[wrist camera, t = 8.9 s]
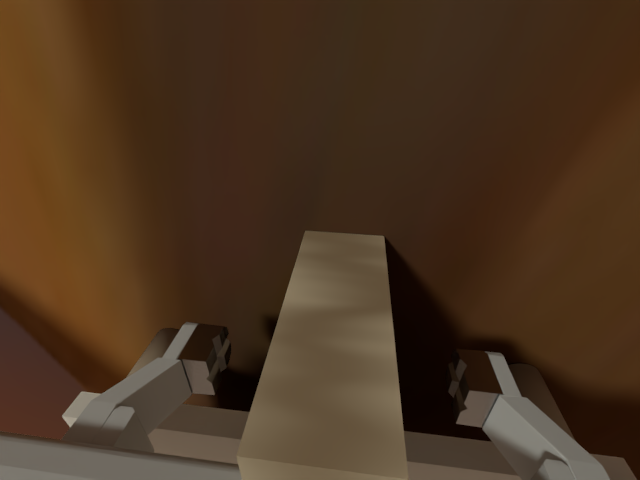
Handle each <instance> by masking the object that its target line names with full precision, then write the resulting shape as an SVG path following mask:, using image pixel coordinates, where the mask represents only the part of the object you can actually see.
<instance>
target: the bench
mask: <svg viewBox="0 0 640 480" xmlns="http://www.w3.org/2000/svg"><path fill="white" fill-rule="evenodd" d="M178 332H179V330H176V329H172V328H165V329H162V330H160V331H159V332H158V333H157V334H156V336H155V337H154V339H153V340H152V341H151V343H150V344H149V346H148V347H147V349H146V350H145V351H144V353H143V354H142V356H141V357H140V359H139V360H138V361H137V363H136V364H135V366H134V367H133V368H132V370H131V371H130V373H129V374H128V376H127V377H129V376H130V375H132V374H133V373H135V372H136V371H138V370H139V369H141V368H143V367H144V366H146V365H147V364H149V363H150V362H152V361H153V360H155V359H157V358H158V357H159V358H162V357H163V356H164V354H165V352H166V351H167V349H168V348H169V346H170V345H171V343H172V341H173V340H174V338H175V337H176V335H177V334H178ZM508 367H509V369H510V371H511V374H512V376H513V378H514V380H515V383H516V385H517V387H518V389H519V391H520V394H521V396H522V397H525V398H528V399H529V400H530V401H531V402H532V403H533V404H534V405H536V406H537V407H538V408H539V409H540V410H541V411H542V412H543V413H544V414H546V415H547V416H548V417H549V418H550V419H551V420H552V421H553V422H555V423H556V424H557V425H558V426H559V427H560V428H561V429H562V430H563V431H565V432H566V433H567V434H568V435H569V436H570V437H571V438H572V439H573V440H575V439H574V437H573V435H572V433H571V431H570V429H569V428H568V426H567V424H566V422H565V420H564V418H563V416H562V414H561V412H560V410H559V408H558V407H557V405H556V403H555V401H554V399H553V397H552V395H551V393H550V391H549V389H548V388H547V386H546V384H545V382H544V380H543V378H542V376H541V374H540V372H539V371H538V369H537V368H535V367H534V366H532V365H529V364H522V363H517V364H510V365H508ZM127 377H126V378H127ZM99 395H100V394H98V393H90V392H81V393H80V394H79V395H78V397H77V398H76V399H75V400H74V402H73V403H72V404H71V405H70V407H69V408H68V409H67V410H66V412H65V413H64V414H63V415H62V417H63V418H64V420H65V421H66V422H67V424H68V425H69V427H71V426H72V425H73V423H74V422H75V421H76V419H77V418H78V417H79V416H80V414H81V413H82V412H83V410H84V409H85V408H86V406H87V405H88V404H89V402H90V401H91V400H93V399H94V398H96V397H97V396H99ZM249 413H250V412H245V411H237V410H229V409H221V408H212V407H204V406H196V405H188V404H181V405H180V406H179V407H178V408H177V409H176V410H175V411H173V412H172V413H171V414H170V415H169V416H168V417H167V418H166V419H165V420H164V421H163V422H162V423H160V424H159V425H158V426H157V427H156V428H155V429H154V430H153V431H152V432H151V433H150V434H148V435H147V436H148V438H149V440H150V441H151V443H152V445H153V447H154V453H161V454H168V455H176V456H183V457H190V458H197V459H204V460H212V461H219V462H226V463H233V464H238V461H237V458H236V455H237V452H238V449H239V445H240V442H241V439H242V435H243V432H244V429H245V426H246V422H247V419H248V416H249ZM404 438H405V448H406V458H407V468H408V478H409V480H522V479H521V478H520V477H519V475H518V474H517V473H516V472H515V470H514V469H513V468H512V466H511V465H510V464H509V463H508V461H507V460H506V459H505V457H504V456H503V455H502V454H501V452H500V451H499V450H498V449H497V447H496V446H495V445H494V443H493V442H490V441H482V440H474V439H466V438H458V437H449V436H441V435H433V434H425V433H417V432H409V431H404ZM590 455H591V456H592V457H594V458H595V459H596V460H597V461H598V462H599V463H600V464H601V465H602V466H603V468H604V469H605V471H606V473H607V475H608V477H609V478H610V480H637V479H636V477H635V476H634V474H633V473H632V471H631V469H630V468H629V466H628V464H627V463H626V461H625V460H624V458H621V457H613V456H605V455H597V454H590Z"/></svg>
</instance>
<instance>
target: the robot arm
mask: <svg viewBox="0 0 640 480" xmlns="http://www.w3.org/2000/svg"><path fill="white" fill-rule="evenodd" d="M228 334H229V333H228V329H227V327H224V326H216V325H208V324H199V323H190V322H186V323H185V324H184V325H183V326H182V327H181V329H180V331H179V332H178V334H177V335H176V337H175V338H174V340H173V341H172V343H171V345H170V346H169V348H168V349H167V351H166V352H165V354H164V356H163V357H162V358H159V357H158V358H157V359H155V360H153V361H152V362H150V363H149V364H147V365H146V366H144V367H143V368H141V369H139V370H138V371H136V372H135V373H133V374H132V375H130V376H129V377H127V378H125V379H124V380H122V381H121V382H119V383H118V384H116V385H114V386H113V387H111V388H110V389H108V390H107V391H105V392H104V393H102V394H100V395H99V396H97V397H96V398H94V399H93V400H91V401H90V402H89V404H88V405H87V406H86V408H85V409H84V410H83V412H82V413H81V414H80V416H79V417H78V418H77V419H76V421H75V422H74V423H73V425H72V426H71V427H70V429H69V430H68V431H67V433H66V434H65V435H64V437H63V438H62V439H61V440H60V439H52V438H44V437H38V436H31V435H24V434H17V433H9V432H2V431H0V480H242V477H241V473H240V469H239V465H238V464H233V463H226V462H219V461H212V460H204V459H197V458H190V457H183V456H176V455H168V454H161V453H154V447H153V445H152V443H151V441H150V440H149V438H148V436H147V435H148V434H150V433H151V432H152V431H153V430H154V429H155V428H156V427H157V426H158V425H159V424H160V423H162V422H163V421H164V420H165V419H166V418H167V417H168V416H169V415H170V414H171V413H172V412H173V411H175V410H176V409H177V408H178V407H179V406H180V405H181V404H182V403H183V402H184V401H185V400H187V399H188V398H189V397H190V396H191V395H192V393H197V394H208V395H215V394H216V391H217V389H218V387H219V384H220V382H221V380H222V376H221V372H222V371H223V370H224V369H225V368H227V365H228V363H229V360H230V355H231V343H230V341H229V340H228V339H227V336H228ZM451 358H452V362H451V363H449V364H448V366H447V370H446V384H447V389H448V392H449V393H450V395H451V396H452V397H453V400H452V403H451V406H452V410H453V414H454V418H455V422H456V424H461V425H468V426H475V427H482V429H483V431H484V432H485V433H486V434H487V436H488V437H489V438H490V440H491V441H492V442H493V443H494V445H495V446H496V447H497V449H498V450H499V451H500V452H501V454H502V455H503V456H504V457H505V459H506V460H507V461H508V463H509V464H510V465H511V466H512V468H513V469H514V470H515V472H516V473H517V474H518V475H519V477H520V478H521V479H522V480H610V478H609V477H608V475H607V473H606V471H605V469H604V468H603V466H602V465H601V464H600V463H599V462H598V461H597V460H596V459H595V458H594V457H592V456H591V455H590V454H589V453H588V452H587V451H586V450H585V449H584V448H582V447H581V446H580V445H579V444H578V443H577V442H576V441H575V440H573V439H572V438H571V437H570V436H569V435H568V434H567V433H566V432H565V431H563V430H562V429H561V428H560V427H559V426H558V425H557V424H556V423H555V422H553V421H552V420H551V419H550V418H549V417H548V416H547V415H546V414H544V413H543V412H542V411H541V410H540V409H539V408H538V407H537V406H536V405H534V404H533V403H532V402H531V401H530V400H529V399H528V398H525V397H522V396H521V394H520V391H519V389H518V387H517V385H516V383H515V380H514V378H513V376H512V374H511V371H510V369H509V367H508V365H507V362H506V360H505V358H504V356H503V355H502V354H501V353H496V352H484V351H476V350H465V349H454V350H453V351H452V354H451Z"/></svg>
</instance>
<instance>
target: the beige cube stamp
mask: <svg viewBox="0 0 640 480" xmlns="http://www.w3.org/2000/svg"><path fill="white" fill-rule="evenodd" d="M236 458H237V461H238V465H239V469H240V473H241V477H242V480H409V478H408V468H407V458H406V448H405V438H404V428H403V419H402V409H401V399H400V389H399V379H398V369H397V359H396V349H395V339H394V329H393V319H392V309H391V299H390V289H389V279H388V269H387V259H386V249H385V239H384V236H375V235H361V234H346V233H331V232H317V231H305V234H304V237H303V240H302V244H301V247H300V250H299V253H298V257H297V260H296V263H295V266H294V270H293V273H292V276H291V279H290V283H289V286H288V289H287V292H286V296H285V299H284V302H283V305H282V309H281V312H280V315H279V318H278V322H277V325H276V328H275V331H274V335H273V338H272V341H271V344H270V348H269V351H268V354H267V357H266V361H265V364H264V367H263V370H262V374H261V377H260V380H259V383H258V387H257V390H256V393H255V396H254V400H253V403H252V406H251V409H250V413H249V416H248V419H247V422H246V426H245V429H244V432H243V435H242V439H241V442H240V445H239V449H238V452H237V455H236Z"/></svg>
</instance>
